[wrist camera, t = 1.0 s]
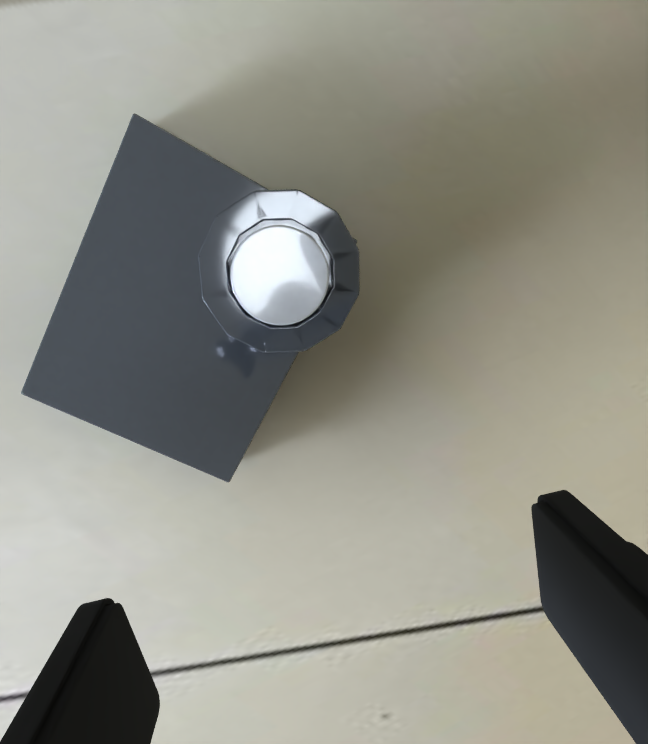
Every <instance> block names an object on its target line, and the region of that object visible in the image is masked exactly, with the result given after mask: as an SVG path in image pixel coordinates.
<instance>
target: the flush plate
mask: <svg viewBox="0 0 648 744" xmlns="http://www.w3.org/2000/svg"><path fill="white" fill-rule="evenodd" d="M271 225H286V226H291V227H294V228H297V229H299V230H301V231H303V232H305V233H306V234H308V235H309V236H310V237H312V238H313V239H314V240H315V241H316V242H317V244H318V245H319V246H320V248H321V249H322V251H323V253H324V255H325V257H326V260H327V263H328V268H329V285H328V289H327V293H326V295H325V297H324V300H323V301H322V303H321V305H320V306H319V307H318V308H317V310H316V311H315V312H314V313H313V314H311V315H310V316H309V317H307V318H306V319H304V320H302V321H300V322H297V323H294V324H290V325H271V324H267V323H264V322H262V321H259V320H257V319H256V318H254V317H252V316H251V315H250V314H249V313H247V312H246V311H245V310H244V309H243V307H242V306H241V305H240V304H239V302H238V300H237V299H236V297H235V294H234V292H233V289H232V285H231V279H230V270H231V263H232V259H233V257H234V254H235V252H236V250H237V248H238V247H239V245H240V244H241V243H242V241H243V240H244V239H245V238H246V237H247V236H249V235H250V234H251V233H253V232H255V231H256V230H258V229H261V228H263V227H267V226H271ZM356 243H357V240H356V239H354V238H352V237H351V235H350V233H349V231H348V230H347V228H346V226H345V225H344V223H343V221H342V219H341V218H340V216H339V214H338V213H337V212H336V211H335V210H333V209H332V208H330V207H328V206H326V205H325V204H323V203H321V202H320V201H318V200H316V199H314V198H313V197H311V196H309V195H307V194H306V193H304V192H302V191H301V190H297V189H290V190H268V189H267V188H265V187H263V186H261V185H260V184H258V183H256V182H254V181H253V180H251V179H249V178H247V177H246V176H244V175H242V174H240V173H239V172H237V171H235V170H233V169H232V168H230V167H228V166H226V165H225V164H223V163H221V162H219V161H218V160H216V159H214V158H212V157H211V156H209V155H207V154H205V153H204V152H202V151H200V150H198V149H197V148H195V147H193V146H191V145H190V144H188V143H186V142H184V141H183V140H181V139H179V138H177V137H176V136H174V135H172V134H170V133H168V132H167V131H165V130H163V129H161V128H160V127H158V126H156V125H154V124H153V123H151V122H149V121H147V120H146V119H144V118H142V117H140V116H139V115H137V114H133V116H132V118H131V121H130V123H129V126H128V128H127V131H126V133H125V136H124V138H123V140H122V143H121V145H120V148H119V150H118V153H117V155H116V158H115V160H114V163H113V165H112V168H111V170H110V173H109V175H108V178H107V180H106V183H105V185H104V188H103V190H102V193H101V195H100V198H99V200H98V203H97V205H96V208H95V210H94V213H93V215H92V218H91V220H90V223H89V225H88V228H87V230H86V232H85V235H84V237H83V240H82V242H81V245H80V247H79V250H78V252H77V255H76V257H75V260H74V262H73V265H72V267H71V270H70V272H69V275H68V277H67V280H66V282H65V285H64V287H63V290H62V292H61V295H60V297H59V300H58V302H57V305H56V307H55V310H54V312H53V315H52V317H51V320H50V322H49V324H48V327H47V329H46V332H45V334H44V337H43V339H42V342H41V344H40V347H39V349H38V352H37V354H36V357H35V359H34V362H33V364H32V367H31V369H30V372H29V374H28V377H27V379H26V382H25V384H24V387H23V389H22V392H21V394H23V395H25V396H28V397H30V398H32V399H35V400H37V401H39V402H42V403H44V404H46V405H49V406H51V407H53V408H56V409H58V410H60V411H63V412H65V413H67V414H70V415H72V416H74V417H77V418H79V419H81V420H84V421H86V422H88V423H91V424H93V425H95V426H98V427H100V428H102V429H105V430H107V431H109V432H112V433H114V434H116V435H119V436H121V437H123V438H126V439H128V440H130V441H133V442H135V443H137V444H140V445H142V446H144V447H147V448H149V449H151V450H154V451H156V452H158V453H161V454H163V455H165V456H168V457H170V458H172V459H175V460H177V461H179V462H182V463H184V464H187V465H189V466H191V467H194V468H196V469H198V470H201V471H203V472H205V473H208V474H210V475H212V476H215V477H217V478H219V479H222V480H224V481H226V482H230V480H231V479H232V477H233V475H234V473H235V471H236V469H237V467H238V465H239V464H240V462H241V460H242V458H243V456H244V454H245V452H246V450H247V448H248V447H249V445H250V443H251V441H252V439H253V437H254V435H255V433H256V431H257V430H258V428H259V426H260V424H261V422H262V420H263V418H264V416H265V415H266V413H267V411H268V409H269V407H270V405H271V403H272V401H273V399H274V398H275V396H276V394H277V392H278V390H279V388H280V386H281V384H282V382H283V381H284V379H285V377H286V375H287V373H288V371H289V369H290V367H291V366H292V364H293V362H294V360H295V358H296V356H297V354H298V352H300V351H306V350H308V349H310V348H311V347H313V346H315V345H316V344H318V343H319V342H321V341H323V340H324V339H326V338H327V337H329V336H330V335H332V334H334V333H335V332H337V331H338V330H339V329H341V327H342V325H343V323H344V321H345V319H346V318H347V316H348V314H349V312H350V310H351V308H352V307H353V305H354V303H355V301H356V299H357V297H358V296H359V291H360V282H359V251H358V250H359V249H358V247H357V245H356Z"/></svg>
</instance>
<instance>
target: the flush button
mask: <svg viewBox="0 0 648 744" xmlns="http://www.w3.org/2000/svg"><path fill="white" fill-rule="evenodd" d="M230 279H231V285H232V289H233V292H234V294H235V297H236V299H237V300H238V302H239V304H240V305H241V306H242V307H243V309H244V310H245V311H246V312H247V313H249V314H250V315H251V316H252V317H254V318H256V319H257V320H259V321H262V322H264V323H267V324H271V325H290V324H294V323H297V322H300V321H302V320H304V319H306V318H307V317H309V316H310V315H311V314H313V313H314V312H315V311H316V310H317V308H318V307H319V306H320V305H321V303H322V301H323V300H324V297H325V295H326V293H327V289H328V285H329V268H328V263H327V260H326V257H325V255H324V253H323V251H322V249H321V248H320V246H319V245H318V244H317V242H316V241H315V240H314V239H313V238H312V237H310V236H309V235H308V234H306V233H305V232H303V231H301V230H299V229H297V228H294V227H291V226H286V225H271V226H267V227H263V228H261V229H258V230H256V231H255V232H253V233H251V234H250V235H249V236H247V237H246V238H245V239H244V240H243V241H242V243H241V244H240V245H239V247H238V248H237V250H236V252H235V254H234V257H233V259H232V263H231V270H230Z"/></svg>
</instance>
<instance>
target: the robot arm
mask: <svg viewBox="0 0 648 744" xmlns="http://www.w3.org/2000/svg"><path fill="white" fill-rule="evenodd" d="M532 519H533V529H534V538H535V548H536V558H537V568H538V577H539V587H540V597H541V603H542V607H543V609H544V612H545V614H546V616H547V617H548V619H549V621H550V622H551V623H552V625H553V626H554V628H555V629H556V630H557V632H558V633H559V635H560V636H561V638H562V639H563V640H564V642H565V643H566V645H567V646H568V647H569V649H570V650H571V652H572V653H573V655H574V656H575V657H576V659H577V660H578V662H579V663H580V665H581V666H582V667H583V669H584V670H585V672H586V673H587V674H588V676H589V677H590V679H591V680H592V682H593V683H594V684H595V686H596V687H597V689H598V690H599V692H600V693H601V694H602V696H603V697H604V699H605V700H606V701H607V703H608V704H609V706H610V707H611V709H612V710H613V711H614V713H615V714H616V716H617V717H618V718H619V720H620V721H621V723H622V724H623V726H624V727H625V728H626V730H627V731H628V733H629V734H630V736H631V737H632V738H633V740H634V741H635V743H636V744H648V555H647V554H646V553H645V552H644V551H642V550H641V549H640V548H639V547H637V546H636V545H634V544H633V543H630V542H626V541H625V540H624V539H623V538H622V537H620V536H619V535H618V534H617V533H616V532H615V531H613V530H612V529H611V528H610V527H609V526H608V525H607V524H605V523H604V522H603V521H602V520H601V519H600V518H598V517H597V516H596V515H595V514H594V513H593V512H591V511H590V510H589V509H588V508H587V507H586V506H585V505H583V504H582V503H581V502H580V501H579V500H578V499H576V498H575V497H574V496H573V495H572V494H571V493H569V492H568V491H566V490H561V491H557V492H553V493H548V494H544V495H540V496H539V497H538V503H536V504H533V505H532ZM159 707H160V700H159V694H158V691H157V688H156V686H155V684H154V681H153V679H152V676H151V674H150V672H149V669H148V667H147V664H146V662H145V660H144V657H143V655H142V652H141V650H140V647H139V645H138V643H137V640H136V638H135V635H134V633H133V631H132V628H131V626H130V623H129V621H128V619H127V616H126V614H125V611H124V609H123V607H122V605H121V604H120V603H114V601H113V600H112V599H110V598H106V599H102V600H98V601H93V602H89V603H85V604H82V605H81V606H80V607H79V608H78V609H77V611H76V613H75V614H74V616H73V618H72V619H71V621H70V623H69V625H68V626H67V628H66V630H65V631H64V633H63V635H62V637H61V638H60V640H59V642H58V643H57V645H56V647H55V649H54V650H53V652H52V654H51V656H50V657H49V659H48V661H47V662H46V664H45V666H44V668H43V669H42V671H41V673H40V674H39V676H38V678H37V680H36V681H35V683H34V685H33V686H32V688H31V690H30V692H29V693H28V695H27V697H26V698H25V700H24V702H23V704H22V705H21V707H20V709H19V710H18V712H17V714H16V716H15V717H14V719H13V721H12V723H11V724H10V726H9V728H8V729H7V731H6V733H5V735H4V736H3V738H2V740H1V741H0V744H150V743H151V739H152V735H153V732H154V728H155V725H156V721H157V717H158V713H159Z"/></svg>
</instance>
